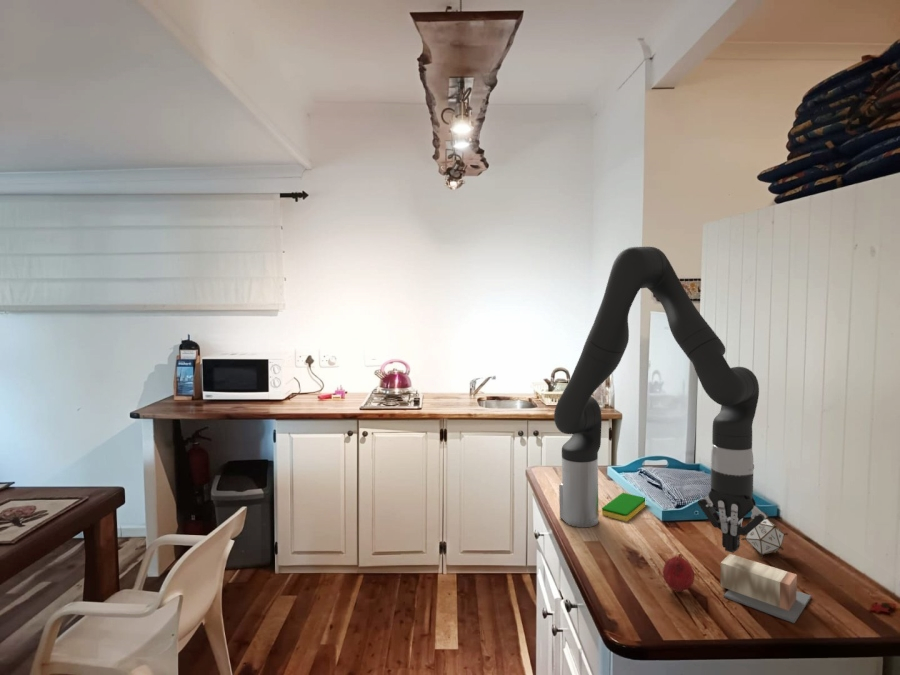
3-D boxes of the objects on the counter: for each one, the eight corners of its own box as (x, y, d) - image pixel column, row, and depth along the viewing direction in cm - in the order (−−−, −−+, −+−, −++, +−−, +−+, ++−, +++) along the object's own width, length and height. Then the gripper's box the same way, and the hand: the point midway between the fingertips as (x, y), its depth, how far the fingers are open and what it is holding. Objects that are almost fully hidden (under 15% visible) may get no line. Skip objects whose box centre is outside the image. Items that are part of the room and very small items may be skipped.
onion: (691, 603, 103) (692, 563, 102) (660, 595, 106) (660, 556, 105) (696, 588, 108) (696, 550, 107) (665, 581, 111) (665, 544, 110)
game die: (773, 572, 120) (800, 550, 113) (735, 556, 121) (759, 534, 114) (769, 538, 126) (793, 515, 120) (733, 524, 128) (755, 501, 121)
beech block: (720, 562, 107) (789, 585, 98) (729, 553, 110) (796, 574, 102) (720, 586, 107) (788, 610, 99) (729, 576, 111) (796, 599, 102)
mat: (723, 597, 104) (723, 594, 104) (743, 575, 112) (743, 573, 112) (794, 623, 96) (794, 620, 96) (810, 597, 103) (810, 595, 103)
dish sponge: (601, 516, 144) (601, 507, 144) (622, 500, 155) (622, 492, 154) (626, 523, 140) (626, 514, 139) (647, 506, 150) (647, 497, 150)
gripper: (690, 464, 108) (690, 546, 110) (762, 480, 99) (760, 569, 100) (705, 456, 114) (704, 534, 115) (775, 469, 104) (773, 554, 105)
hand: (731, 550), depth 108 cm, fingers closed
